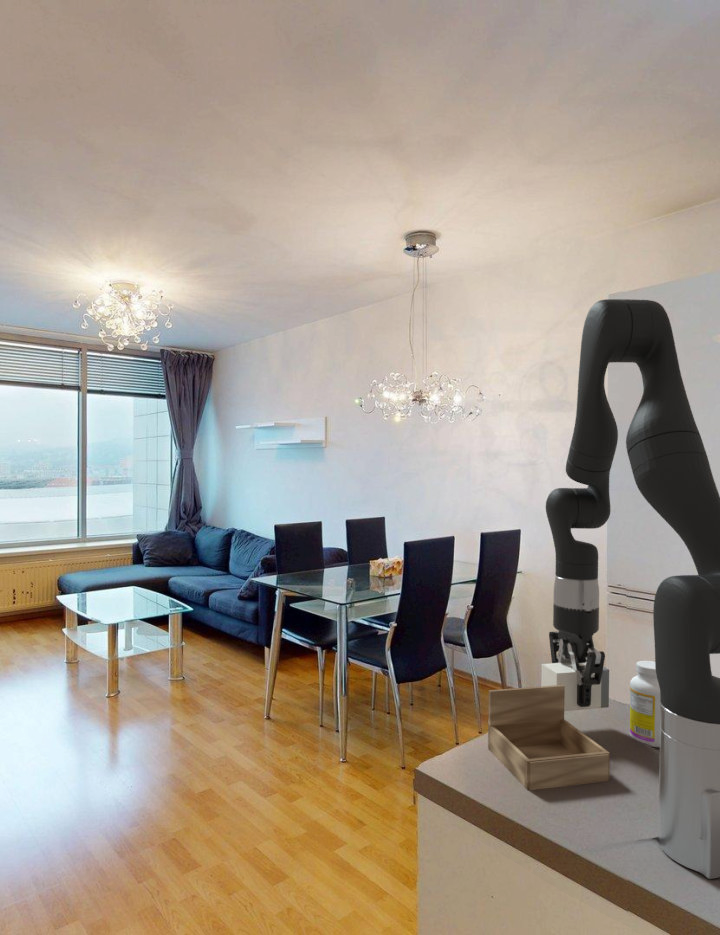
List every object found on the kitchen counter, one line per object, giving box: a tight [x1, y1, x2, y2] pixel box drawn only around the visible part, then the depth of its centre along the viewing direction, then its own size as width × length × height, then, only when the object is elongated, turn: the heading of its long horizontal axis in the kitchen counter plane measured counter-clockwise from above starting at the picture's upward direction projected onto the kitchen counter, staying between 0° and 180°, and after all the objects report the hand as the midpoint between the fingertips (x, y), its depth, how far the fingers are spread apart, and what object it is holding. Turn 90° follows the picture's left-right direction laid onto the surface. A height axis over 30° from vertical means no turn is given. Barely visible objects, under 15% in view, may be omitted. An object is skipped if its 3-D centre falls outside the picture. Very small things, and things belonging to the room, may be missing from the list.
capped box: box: [540, 661, 610, 712], centre depth 108 cm, size 10×5×6 cm, turn 103°
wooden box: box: [487, 685, 611, 791], centre depth 95 cm, size 13×13×10 cm
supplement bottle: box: [629, 660, 660, 748], centre depth 105 cm, size 7×7×13 cm
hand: (574, 699), depth 108 cm, fingers closed on capped box, 5 cm apart
